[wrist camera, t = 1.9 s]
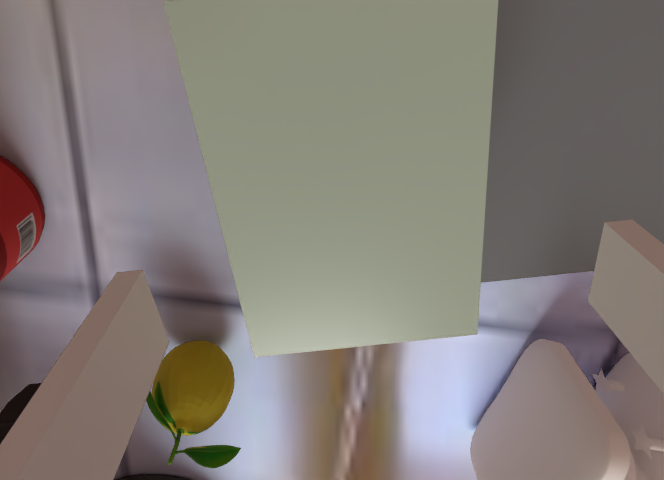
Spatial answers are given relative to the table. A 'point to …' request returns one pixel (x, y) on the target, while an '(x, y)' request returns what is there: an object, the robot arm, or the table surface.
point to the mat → (572, 132)
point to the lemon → (194, 397)
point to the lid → (345, 161)
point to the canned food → (17, 216)
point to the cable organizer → (571, 422)
